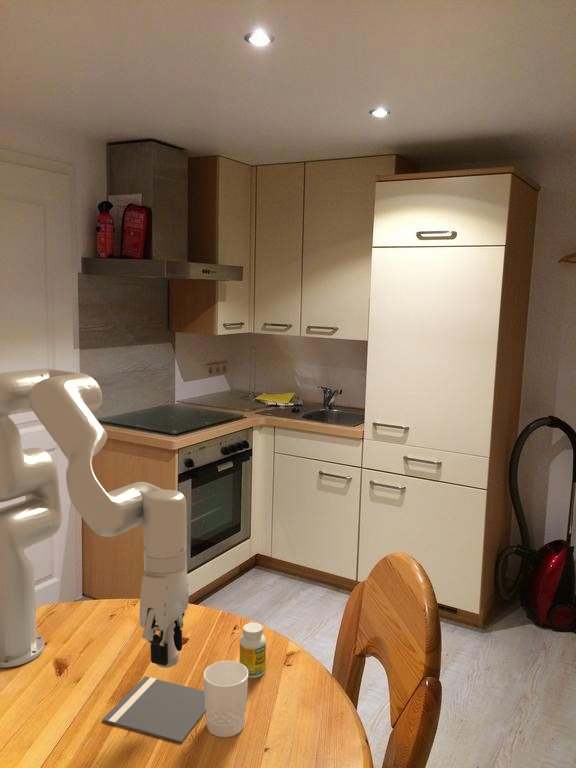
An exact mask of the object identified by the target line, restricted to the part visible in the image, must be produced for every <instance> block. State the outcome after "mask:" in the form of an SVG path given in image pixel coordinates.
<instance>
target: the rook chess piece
mask: <svg viewBox="0 0 576 768" xmlns="http://www.w3.org/2000/svg"><path fill="white" fill-rule="evenodd" d="M175 626H176V624H175V623H174V622H173V623H172V624H171V625H170V626H169V627H168V628H167V633H166V643H167V644H168V664H167V665H166V666H164V665H159V664H156V665H157V667H160V668H163V669H164V668H165V669H168V668H172V667H174V666H176V665H177V664H178V663H179V661H180V657H179V656H180V651H178V650H177V649H176V646H175V644H174V638H173V635H174V631H173V629H174V628H175ZM158 635H159V636H160V635H161V631H159V633H158Z"/></svg>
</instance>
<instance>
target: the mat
mask: <svg viewBox="0 0 576 768" xmlns="http://www.w3.org/2000/svg"><path fill="white" fill-rule="evenodd" d="M204 715H206V711H205V698H204V689H203V690H202V689H198V688H193V687H190V686H186V685H181V684H178V683H174V682H170V681H167V680H162V679H158V678H155V677H152V676H151V677H149V676H144V677H142V679H141V680H139V682H138V683H136V684H135V686H134V687H133V688H132V689H131V690H130V691H129V692H128V693H126V695H125V696H124V697H123V698H122V699H121V700H120V701H119V702H118V703H117V704H115V706H114V707H113V708H112V709H111V710H110V711H109V712H108V713H107V714H106V715H105V716H104V717H103V718H102V722H103V723H106V724H107V723H108V724H112V725H113V726H114V725H115V726H119V727H122V728H125V729H129V730H132V731H136V732H140V733H143V734H147V735H150V736H153V737H157V738H161V739H165V740H168V741H171V742H175V743H178V744H183V742H184V741H185V740H186V738H187V737H188V736H189V735H190V733H191V732H192V731H193V730H194V728H195V726H197V724H198V723H199V721H200V720H201V719H202V718H203V716H204Z"/></svg>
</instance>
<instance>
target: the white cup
mask: <svg viewBox="0 0 576 768" xmlns="http://www.w3.org/2000/svg"><path fill="white" fill-rule="evenodd" d="M248 684H249V678H248V669H247V668H246V667H245V666H244V665H243V664H241V663H240V661H239V662H238V661H233V660H221V661H216V662H214V663H212V664H210V665H208V666H207V667H206V668H205V669H204V671H203V691H204V698H205V711H206V712H205V718H206V719H205V720H206V729H207V731H208V732H209V733H210V734H211V735H214V736H215V737H218V738H230V737H234V736H237V735H238V734H240V733H241V732H242V730H243V729H244V728H245V722H246V721H245V717H246V711H247V702H248V701H247V700H248V688H249V687H248V686H249V685H248Z"/></svg>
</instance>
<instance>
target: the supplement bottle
mask: <svg viewBox="0 0 576 768" xmlns="http://www.w3.org/2000/svg"><path fill="white" fill-rule="evenodd" d="M263 627H264V626H263V625H262V624H260V623H258V622H249V623H246V624H244V625H243V626H242V635H241V636H240V638H239V663H241V664H243V665H244V666H245V667H246V668H247V669H248V679H255V678H257V679H258V678H260V677H261V676H263V675H264V674H265V672H266V665H267V664H266V663H267V662H266V660H267V657H266V655H267V640H266V637H265V635H264V634H263V633H264V631H263V630H264V628H263Z"/></svg>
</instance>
